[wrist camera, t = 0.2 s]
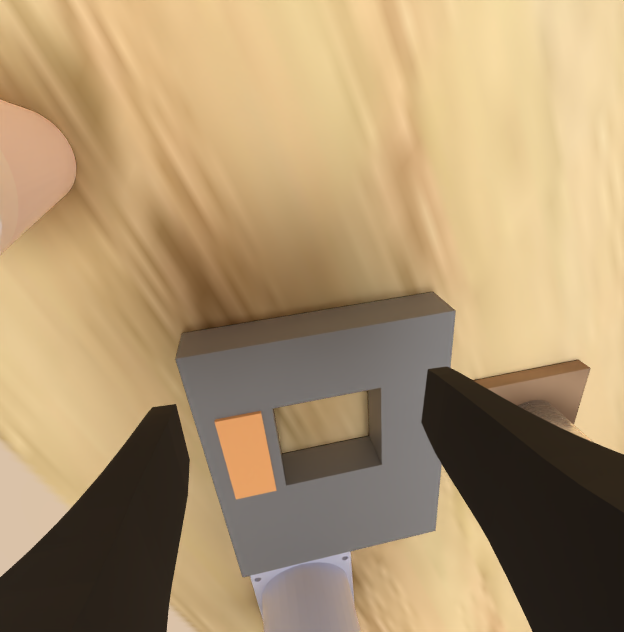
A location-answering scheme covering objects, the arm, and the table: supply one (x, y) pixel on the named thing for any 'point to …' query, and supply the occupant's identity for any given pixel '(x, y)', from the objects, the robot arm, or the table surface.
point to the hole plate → (328, 460)
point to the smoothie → (30, 170)
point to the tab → (544, 386)
